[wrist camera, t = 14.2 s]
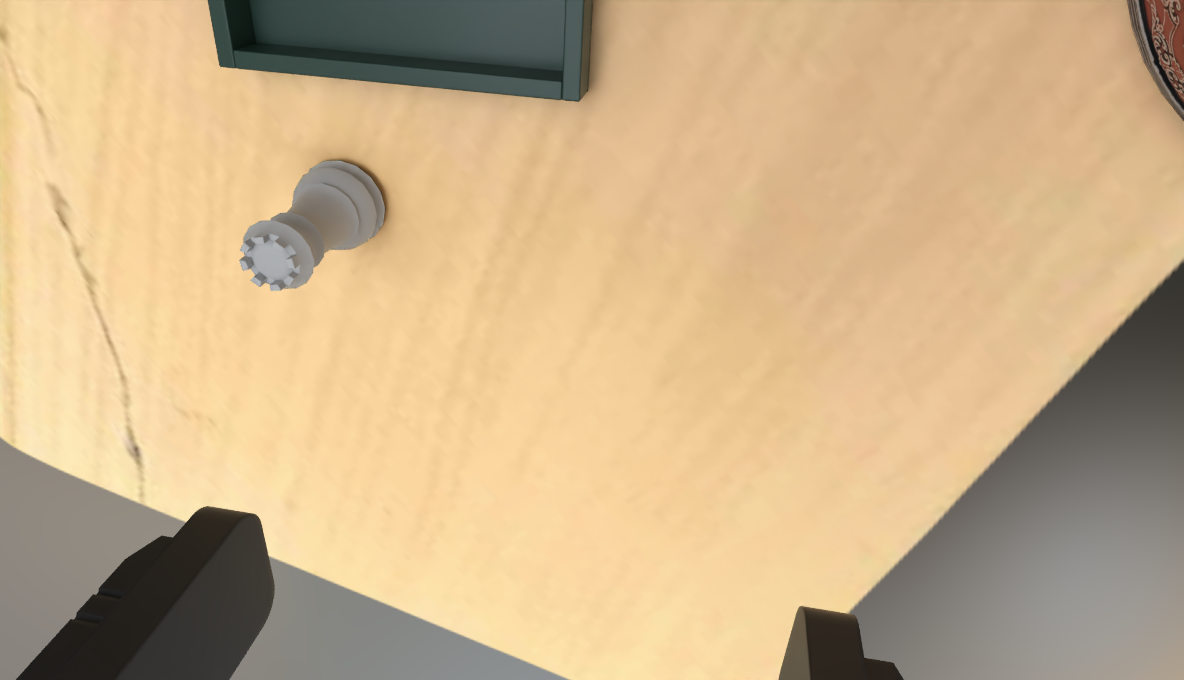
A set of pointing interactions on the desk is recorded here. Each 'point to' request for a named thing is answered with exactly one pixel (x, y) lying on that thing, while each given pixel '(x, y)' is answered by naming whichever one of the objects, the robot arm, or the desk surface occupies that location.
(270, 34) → the tray
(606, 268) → the desk surface
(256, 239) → the rook chess piece
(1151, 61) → the lighter
